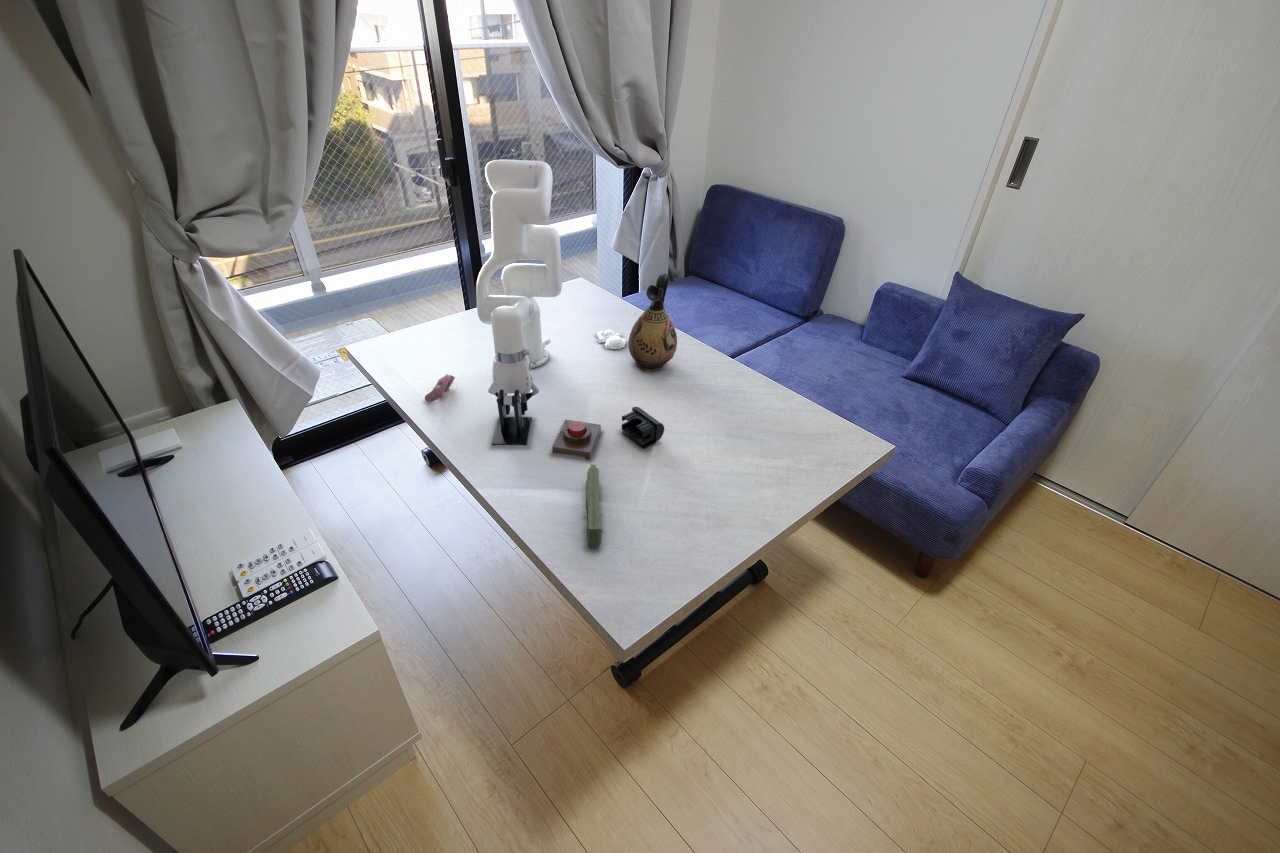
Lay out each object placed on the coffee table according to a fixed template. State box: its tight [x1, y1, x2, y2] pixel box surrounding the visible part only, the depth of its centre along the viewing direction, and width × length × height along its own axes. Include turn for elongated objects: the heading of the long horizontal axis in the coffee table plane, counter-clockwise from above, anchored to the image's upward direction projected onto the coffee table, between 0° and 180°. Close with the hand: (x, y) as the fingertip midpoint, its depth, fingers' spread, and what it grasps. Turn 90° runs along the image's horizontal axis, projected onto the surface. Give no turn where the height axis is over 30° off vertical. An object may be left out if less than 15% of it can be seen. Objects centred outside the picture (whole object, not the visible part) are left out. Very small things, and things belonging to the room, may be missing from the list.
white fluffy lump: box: [596, 329, 627, 350], centre depth 194 cm, size 9×12×3 cm
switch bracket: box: [491, 390, 533, 446], centre depth 149 cm, size 12×9×13 cm
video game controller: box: [424, 373, 456, 403], centre depth 164 cm, size 10×5×7 cm, turn 168°
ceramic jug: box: [627, 272, 678, 373], centre depth 176 cm, size 17×15×30 cm
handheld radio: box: [585, 464, 603, 551], centre depth 131 cm, size 7×3×25 cm
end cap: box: [621, 406, 665, 450], centre depth 153 cm, size 10×7×7 cm
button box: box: [551, 419, 602, 461], centre depth 150 cm, size 12×10×4 cm
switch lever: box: [504, 394, 522, 408], centre depth 152 cm, size 13×4×4 cm
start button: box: [568, 420, 585, 436], centre depth 148 cm, size 4×4×2 cm
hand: (515, 411), depth 158 cm, fingers closed on switch lever, 3 cm apart
